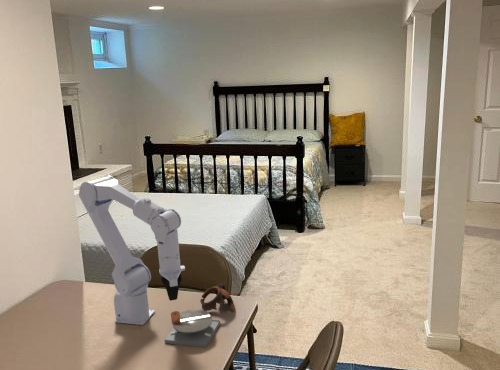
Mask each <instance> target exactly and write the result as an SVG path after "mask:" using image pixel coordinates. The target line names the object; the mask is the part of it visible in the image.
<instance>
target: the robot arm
mask: <svg viewBox="0 0 500 370" xmlns="http://www.w3.org/2000/svg"><path fill="white" fill-rule="evenodd" d="M120 184H121V183H120V181H119V179H116V178H115V177H114V176H112V175H104V176H103V177H99V178H96V179H93V180H89V181H84V182H82V183H81V184H80V186H79V190H78V196H79V198H80V200H81V203H82V204H83V207H84V208H85V210H86V212H87V214H88V216H89V217H90V220H91V221H92V223H93V225H94V226H95V227H94V228H95V229H96V231H97V233H98V235H99V236H100V238H101V240H102V242H103V244H104V246H105V248H106V250H107V252H108V254H109V255H110V258H111V259H112V261H113V263H114V265H115V266H114V268H113V271H112V273H111V277H112V279H113V281H114V287H115V290H116V292H115V294H114V298H113V305H114V313H115V320H114V323H117V324H118V323H119V324H130V325H131V324H132V325H138V326H139V325H141V326H143V325H145V324H146V322H148V321H149V319H150V318H151V317H152V316H153V315H154V314H155V313H156V311H155V309H150V307H149V298H148V290H147V288H148V287H149V283H150V282H151V279H152V275H151V271H150V269H149V268H148V266H146V265H145V263H144V262H143V260H142V259H141V258H138V257H135V256H133V255H132V252H131V251H130V249H129V247H128V245H127V244H126V242H125V240H124V238H123V236H122V233H121V232H120V230H119V228H118V226H117V225H116V223H115V221H114V219H113V217H112V215H111V213H110V211H109V209H110V206H111V204H112V203H113V201H115V202H117V203H119V204H121V205H123V206H124V207H127V208H128V209H131V210H132V214H133V216H134V217H136V218H137V219H138V220H141V221H142V222H144V223H146V224H148V225H149V226H150V229H151V231H152V233H153V235H154V238H155V241H156V244H157V246H156V247H157V254H158V256H157V257H158V265H159V269H158V270H159V271H158V272H159V273H158V274H160V280H161V282H162V284H163V286H164V287H165V290H166V293H167V297H168V300H169V301H175V300H178V296H179V289H180V285H181V282H182V280H183V276H182V273H181V272H183V271H185V270H186V267H185V265H181V257H180V244H179V243H180V242H179V233H178V229H179V228H180V226H181V225H182V219H181V216H180V214H179V212H177V211H176V210H175V209H173V208H169V209H167V208H164V207H162V206H159V205H158V204H157V203H155V202H153V201H152V200H151V199H150V198H149V197H147V198H145V197H141V198H139V197H137V196H136V195H134V194H133V193H131V192H130V191H129V190H127V189H126V188H125V187H123V186H122V185H120Z"/></svg>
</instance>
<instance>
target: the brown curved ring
mask: <svg viewBox="0 0 500 370" xmlns="http://www.w3.org/2000/svg"><path fill="white" fill-rule="evenodd" d="M212 293H214V294H215V297H214V298H213V299H212V300H209V301H208V302H207V301H206V302H205V300H206V298H207V297H208V296H209V295H210V294H212ZM225 300H226V301H225ZM199 302H200V304H201V310H204V311H206V312H209V311H211V310H215V311H218V309H217V304H219V305H222V304H223V305H224V304H225V303H227V304H228V305H230V306H229V308H230V309H231V311H232V312H234V311H235V309H236V305H235V303H234V300H233V298H232V296H231V295H230V293H229V292H228V291H227V288H226V285H224V284H223V283H222V282H221V283H218V284H216V285H215V286H211V287H209V288H207V289H206V290H205V291H204V292H203V293H202V295H201V299H200V301H199Z"/></svg>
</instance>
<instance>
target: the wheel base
mask: <svg viewBox="0 0 500 370" xmlns="http://www.w3.org/2000/svg"><path fill="white" fill-rule="evenodd" d="M220 325H221V320H219V319H218V320H217V319H212V324H211V325H210V327H209V328H207V329H206V330H204V331H201V332H198V333H193V334H184V333H180V332H177V331H176V330H175V329H174V328H173V327H172V329H171V330H170V331H169V333H168V334H167V336H166V337H165V339H164V344H172V345H178V346H179V345H180V346H181V345H182V346H187V347H189V346H190V347H198V348H207V347H208V346H209V344H210V342H211V340H212V338H213V337H214V336H215V333H216V332H217V330H218V328H219V326H220Z"/></svg>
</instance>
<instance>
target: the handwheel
mask: <svg viewBox="0 0 500 370" xmlns="http://www.w3.org/2000/svg"><path fill="white" fill-rule="evenodd" d="M170 316H171V317H170V318H171V320H170V321H171V324H172V329H173V328H174V329H175V330H176V331H177V332H180V333H184V334H193V333H198V332H201V331H204V330H206V329H207V328H209V327H210V325H211V324H212V320H213V316H212V314H211V313H210V312H209V311H205V310H203V309H188V310H185V311H182V312H180V311H177V310H174V311H172V312H171V313H170Z"/></svg>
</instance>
